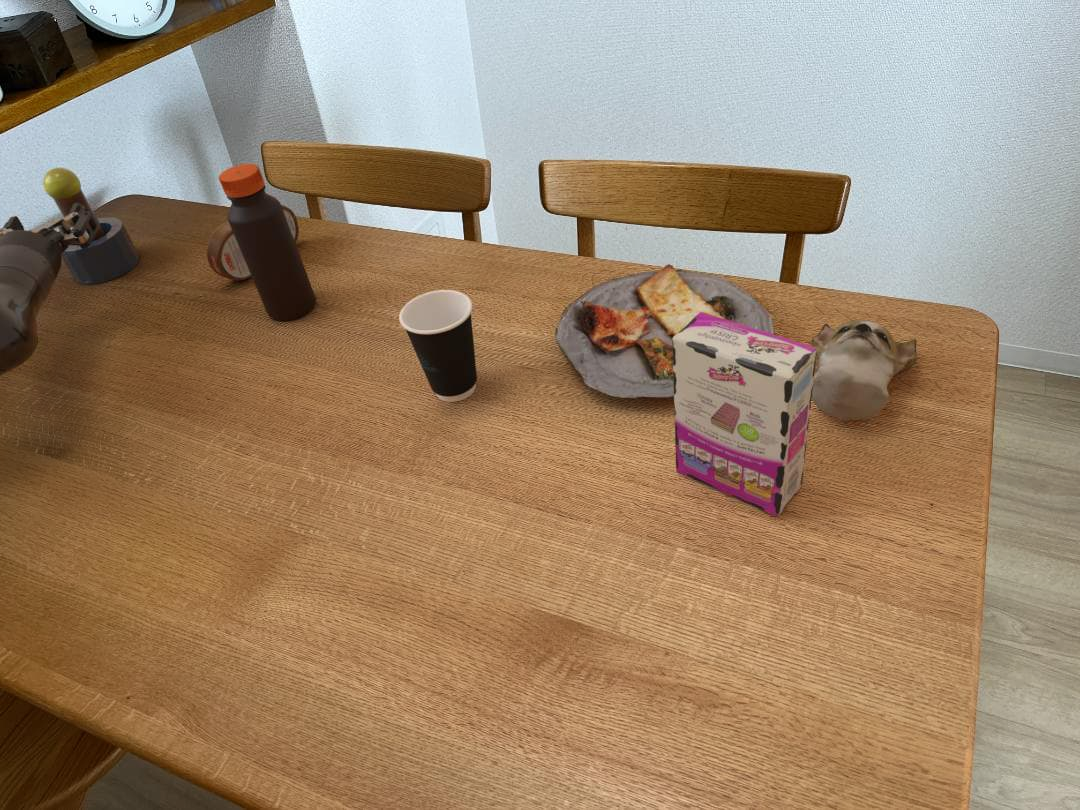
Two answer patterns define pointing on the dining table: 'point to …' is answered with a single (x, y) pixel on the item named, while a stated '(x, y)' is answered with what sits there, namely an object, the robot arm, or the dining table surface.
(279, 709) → the dining table surface
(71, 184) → the ball peg
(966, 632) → the dining table surface
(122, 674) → the dining table surface
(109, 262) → the tube
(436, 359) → the dixie cup
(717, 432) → the candy bar box
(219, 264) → the tin
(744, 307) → the food plate
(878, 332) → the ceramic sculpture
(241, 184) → the bottle
